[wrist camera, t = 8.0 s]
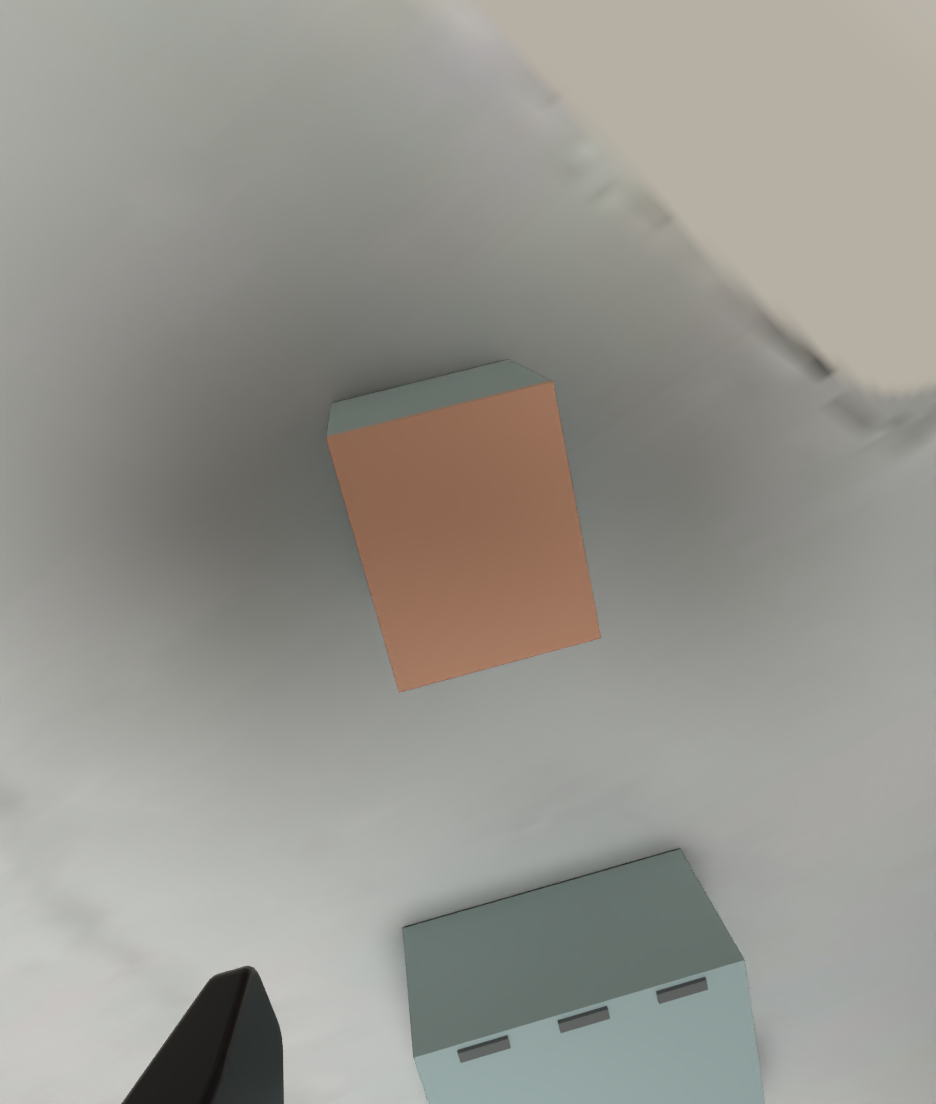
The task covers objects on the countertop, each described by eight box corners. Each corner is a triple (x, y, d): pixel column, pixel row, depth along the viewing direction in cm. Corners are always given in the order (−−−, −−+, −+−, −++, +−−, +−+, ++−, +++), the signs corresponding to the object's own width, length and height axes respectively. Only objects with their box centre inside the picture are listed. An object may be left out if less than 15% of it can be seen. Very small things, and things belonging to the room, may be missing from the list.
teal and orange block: (508, 359, 18) (553, 382, 14) (550, 566, 20) (601, 637, 16) (331, 403, 18) (326, 438, 14) (388, 609, 20) (399, 692, 16)
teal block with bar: (713, 839, 23) (811, 989, 18) (750, 1088, 26) (842, 1271, 22) (367, 938, 23) (372, 1120, 18) (449, 1179, 26) (473, 1389, 21)
